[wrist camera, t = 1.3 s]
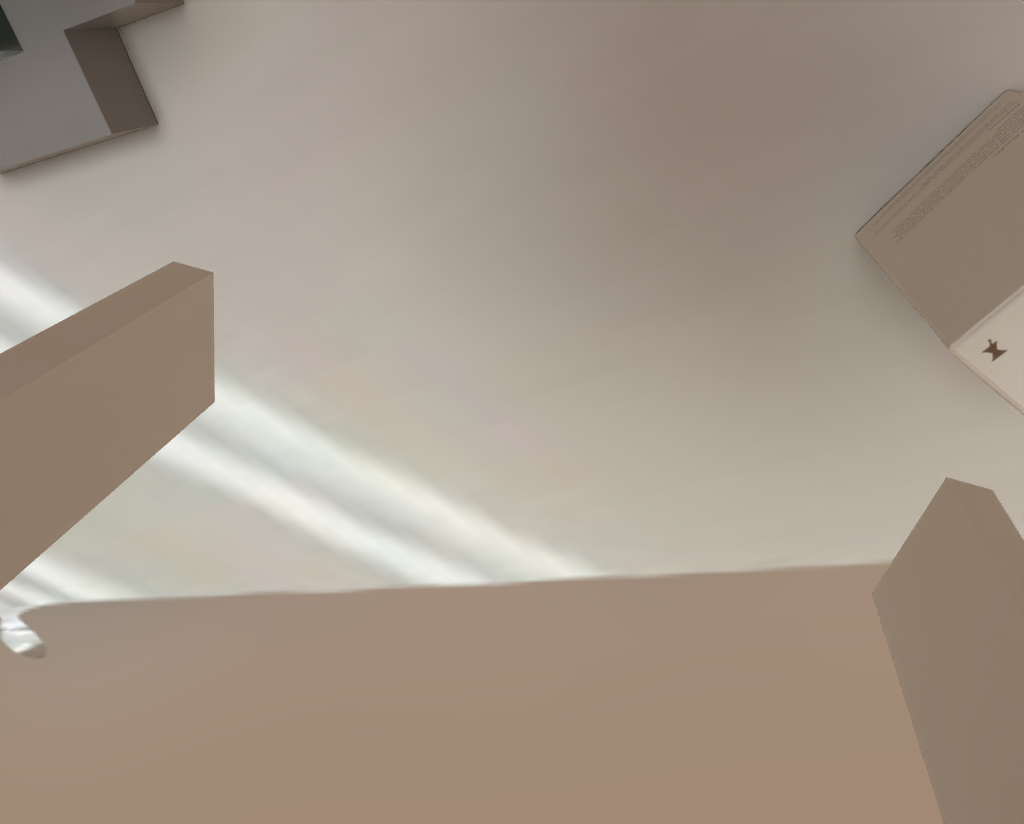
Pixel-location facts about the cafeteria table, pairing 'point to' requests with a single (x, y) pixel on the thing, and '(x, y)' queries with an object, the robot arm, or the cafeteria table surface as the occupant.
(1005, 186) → the supplement box
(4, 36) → the plug
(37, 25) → the socket block
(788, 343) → the cafeteria table surface
